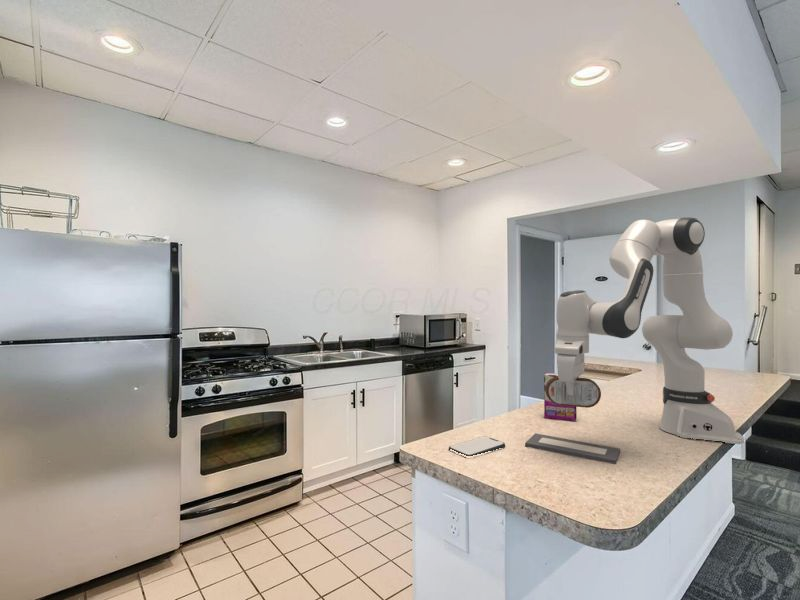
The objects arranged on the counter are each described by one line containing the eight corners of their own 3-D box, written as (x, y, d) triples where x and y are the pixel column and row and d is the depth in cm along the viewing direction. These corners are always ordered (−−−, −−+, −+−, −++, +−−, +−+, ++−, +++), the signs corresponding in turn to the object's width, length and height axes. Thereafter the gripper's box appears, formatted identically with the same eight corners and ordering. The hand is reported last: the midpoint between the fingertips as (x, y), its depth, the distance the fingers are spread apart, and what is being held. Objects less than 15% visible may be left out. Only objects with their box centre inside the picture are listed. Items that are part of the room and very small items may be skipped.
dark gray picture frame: (620, 452, 117) (620, 448, 117) (616, 464, 108) (616, 460, 108) (535, 436, 130) (535, 433, 130) (525, 446, 121) (525, 442, 121)
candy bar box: (576, 418, 152) (576, 374, 152) (576, 422, 147) (576, 376, 147) (544, 415, 156) (544, 372, 156) (543, 418, 151) (544, 374, 151)
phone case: (468, 461, 111) (507, 448, 120) (468, 456, 111) (507, 443, 120) (446, 452, 118) (484, 440, 127) (446, 446, 118) (484, 435, 127)
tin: (599, 407, 118) (599, 378, 119) (602, 409, 115) (602, 379, 116) (545, 403, 122) (545, 375, 123) (546, 405, 119) (546, 375, 120)
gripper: (568, 342, 130) (567, 386, 130) (553, 347, 113) (552, 398, 113) (589, 343, 126) (589, 388, 126) (577, 349, 109) (577, 401, 109)
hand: (572, 393), depth 119 cm, fingers closed on tin, 3 cm apart
